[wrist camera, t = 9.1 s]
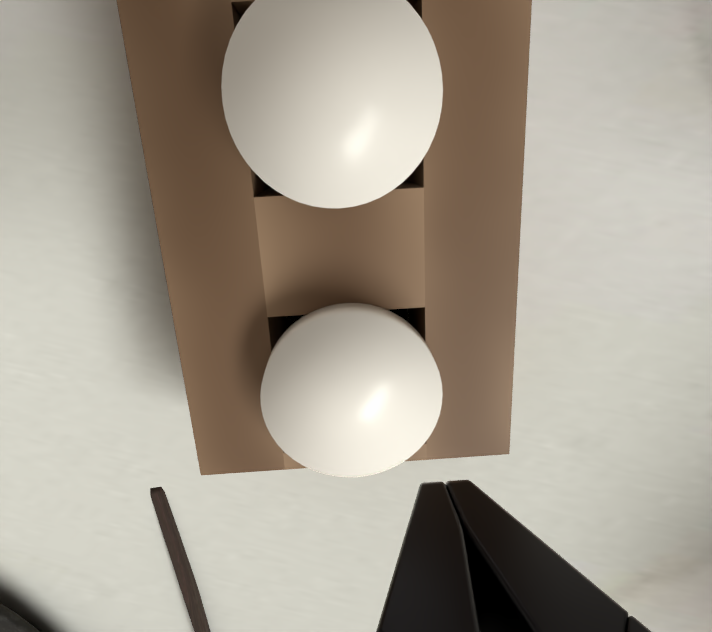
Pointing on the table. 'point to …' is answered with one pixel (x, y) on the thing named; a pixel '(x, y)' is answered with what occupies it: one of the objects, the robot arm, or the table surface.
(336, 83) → the knob middle
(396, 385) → the knob
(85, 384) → the table surface
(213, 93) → the knob mount
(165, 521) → the sushi plate
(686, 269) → the table surface
